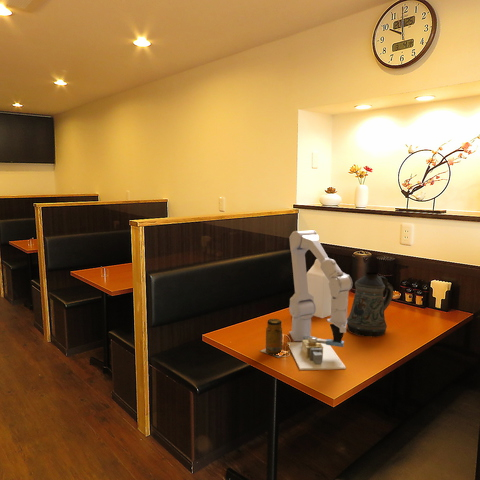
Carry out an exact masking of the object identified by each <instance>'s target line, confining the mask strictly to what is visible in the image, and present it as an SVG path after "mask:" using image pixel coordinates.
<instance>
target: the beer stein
mask: <svg viewBox="0 0 480 480" xmlns="http://www.w3.org/2000/svg"><path fill="white" fill-rule="evenodd" d="M354 287H355V293H354V297H353V301H352V305H351V309H350V312H349V314H348V316H347V325H346V327H347V330H348V331H349V333H352V334H354V335H356V336H358V337H359V336H361V337H364V338H365V337H367V338H377V337H379V338H380V337H382V336H384V335H385V334H386V331H387V326H388V325H387V322H386V317H385V311H386V310H387V308H389V306H390V304H391V303H392V300H393V299H394V298H393V297H394V287H393V285H392V284H391V283H389V281H388V278H386V277H385V276H383V275H379V274H378V273H377V272H366V273H365V274H364V275H363V276H361V277H360V278H358V279H357V280H356V281H355V282H354ZM384 292H385V296H384Z"/></svg>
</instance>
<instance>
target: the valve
mask: <svg viewBox="0 0 480 480" xmlns="http://www.w3.org/2000/svg"><path fill="white" fill-rule="evenodd" d="M308 337H310V336H303V340H302V341H301V342H302V352H303V353H304V355H305V357H306V358H310V361H314V363H315V365H321V363H322V358H323V346H322V345H321V343H309V342H308Z"/></svg>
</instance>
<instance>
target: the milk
mask: <svg viewBox="0 0 480 480" xmlns="http://www.w3.org/2000/svg"><path fill="white" fill-rule="evenodd" d="M320 266H321V263H320V262H319V260H318V259H317V258H316V259H315V260H314V263H313V264H312V266H311V267H310V269H308V271H306V273H307V283H308V293H309V294H311V295H312V296H313V297H314V302H315V304H316V312H315V313H314V314H313V317H317V318H320V319H324V318H326V317H331V301H332V296H331V294H330V293H331V291H330V288H329V280H328V279H327V277H326V276H325V274H324V273H323V271H322V270H321V268H320Z"/></svg>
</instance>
